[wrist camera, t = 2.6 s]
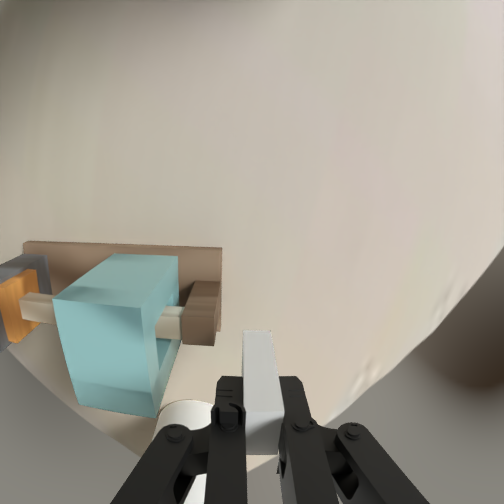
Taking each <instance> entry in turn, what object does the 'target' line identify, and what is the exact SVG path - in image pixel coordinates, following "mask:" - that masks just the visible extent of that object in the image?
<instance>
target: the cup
mask: <svg viewBox="0 0 504 504" xmlns="http://www.w3.org/2000/svg"><path fill="white" fill-rule="evenodd" d="M212 406H214V405H212V404H209V403H206V402H203V401H197V400H181V401H176V402H173V403H171V404H169V405H167V406H166V407H165V408H164V409H163V410H162V411H161V413H160V415H159V418H158V422H157V425H156V428H155V432H154V435H153V439H154V438H155V436H156V435H157V433H158V432H159V430H160V429H162V428H163V427H164V426H166V425H169V424H181V425H184V426H186V427H188V428H189V429H190V430H196V429H201V428H204V427H206V426H208V425H209V424H210V423H211V409H212ZM153 439H152V441H153ZM205 485H206V474H202V475H197V476H196V479H195V481H194V483H193V485H192V487H191V489H190V491H189V493H188V496H187V498H186V500H185V502H184V504H204V497H205Z"/></svg>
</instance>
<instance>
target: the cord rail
mask: <svg viewBox="0 0 504 504" xmlns="http://www.w3.org/2000/svg"><path fill="white" fill-rule="evenodd" d="M23 249H24V254H22V255H20V256H18V257H16V258H14V259H12V260H10V261H8V262H5V263H3V264H1V265H0V352H2V351H3V350H4V349H5V348H6V347H8V346H9V345H10V344H11V343H12V342H14V343H18V342H20V341H21V340H22V339H23V338H24V337H25V336H26V335H27V334H28V333H30V332H31V331H32V330H33V329H34V328H35V327H36V326H38V325H39V324H40V323H47V324H53V325H57V322H56V317H55V312H54V306H53V301H52V298H54V297H55V296H56V295H58V294H59V293H60V292H61V291H63V290H64V289H65V288H67V287H68V286H69V285H71V284H72V283H74V282H75V281H76V280H78V279H79V278H80V277H82V276H83V275H84V274H86V273H87V272H89V271H90V270H91V269H93V268H94V267H96V266H97V265H98V264H100V263H101V262H103V261H104V260H105V259H107V258H108V257H110V256H111V255H113V254H114V253H117V254H140V255H163V256H178V283H179V307H178V306H165V308H164V310H163V312H162V314H161V315H160V317H159V319H158V321H157V323H156V325H155V336H156V338H165V339H178V340H182V342H183V344H188V345H204V346H214V343H215V336H216V331H219V332H220V329H221V280H222V248H216V247H189V246H162V245H134V244H105V243H76V242H46V241H27V242H25V243H23Z"/></svg>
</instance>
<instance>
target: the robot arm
mask: <svg viewBox="0 0 504 504" xmlns="http://www.w3.org/2000/svg"><path fill="white" fill-rule="evenodd" d="M278 449H279V455H280V458H279V463H278V468H277V474H280V482H281V491H282V499H283V504H339V501H338V498H337V494H338V496H339V497H340V499H341V501H342V502H343V504H430V503H429V502H428V501H427V500H426V499H425V498H424V496H423V495H422V494H421V493H420V492H419V491H418V490H417V488H416V487H415V486H414V485H413V484H412V482H411V481H410V480H409V479H408V478H407V476H406V475H405V474H404V473H403V472H402V470H401V469H400V468H399V467H398V466H397V464H396V463H395V462H394V461H393V460H392V459H391V457H390V456H389V455H388V454H387V452H386V451H385V450H384V449H383V448H382V446H381V445H380V444H379V443H378V442H377V440H376V439H375V438H374V437H373V436H372V434H371V433H370V432H369V431H368V429H367V428H365V427H364V426H363V425H361V424H358V423H352V422H351V423H346V424H343V425H341V426H340V427H339V428H338V430H337V429H330V428H325V427H322V426H320V425H318V424H317V422H316V421H315V420H314V419H313V418H312V417H311V414H310V410H309V406H308V403H307V399H306V397H305V391H304V388H303V384H302V382H301V381H300V380H299V379H298V378H297V377H296V376H278V370H277V364H276V358H275V352H274V347H273V341H272V335H271V331H266V330H243V350H242V377H237V376H222V377H221V378H220V379H219V380H218V382H217V387H216V397H215V405H214V406H212V409H211V423H210V424H209V425H208V426H206V427H204V428H201V429H196V430H190V429H189V428H188V427H186V426H184V425H181V424H169V425H166V426H164V427H163V428H162V429H160V430H159V432H158V433H157V435H156V436H155V438H154V439H153V441H152V442H151V444H150V445H149V447H148V448H147V450H146V451H145V453H144V454H143V456H142V457H141V459H140V460H139V462H138V464H137V465H136V466H135V468H134V469H133V471H132V472H131V474H130V475H129V477H128V478H127V480H126V481H125V483H124V484H123V486H122V487H121V489H120V490H119V491H118V493H117V494H116V496H115V497H114V499H113V500H112V502H111V503H110V504H184V502H185V500H186V498H187V496H188V493H189V491H190V489H191V487H192V485H193V483H194V481H195V479H196V476H197V475H202V474H206V485H205V497H204V504H247V470H246V455H278ZM336 493H337V494H336Z"/></svg>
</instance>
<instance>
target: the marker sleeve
mask: <svg viewBox="0 0 504 504" xmlns="http://www.w3.org/2000/svg"><path fill="white" fill-rule="evenodd" d="M52 301H53V306H54V312H55V317H56V322H57V327H58V331H59V336H60V340H61V344H62V348H63V352H64V356H65V360H66V364H67V367H68V371H69V374H70V378H71V381H72V384H73V388H74V391H75V394H76V397H77V400H78V403H79V404H80V405H84V406H88V407H93V408H98V409H103V410H108V411H113V412H118V413H124V414H130V415H136V416H143V417H150V418H156V417H157V414H158V411H159V408H160V404H161V401H162V398H163V395H164V392H165V389H166V386H167V383H168V379H169V376H170V373H171V370H172V367H173V364H174V361H175V358H176V355H177V352H178V349H179V346H180V343H181V340H178V339H165V338H156V336H155V325H156V323H157V321H158V319H159V317H160V315H161V314H162V312H163V310H164V308H165V306H178V307H179V283H178V256H163V255H140V254H117V253H114V254H113V255H111V256H110V257H108V258H107V259H105V260H104V261H103V262H101V263H100V264H98V265H97V266H96V267H94V268H93V269H91V270H90V271H89V272H87V273H86V274H84V275H83V276H82V277H80V278H79V279H78V280H76V281H75V282H74V283H72V284H71V285H69V286H68V287H67V288H65V289H64V290H63V291H61V292H60V293H59V294H58V295H56V296H55V297H54V298H52Z"/></svg>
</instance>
